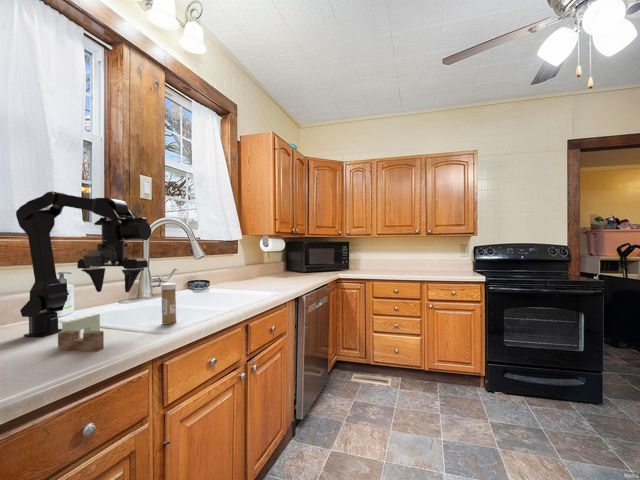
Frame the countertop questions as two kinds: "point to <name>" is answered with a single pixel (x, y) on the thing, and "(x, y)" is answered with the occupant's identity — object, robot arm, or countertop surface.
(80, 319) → the green board
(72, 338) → the walnut rail
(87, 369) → the countertop surface
